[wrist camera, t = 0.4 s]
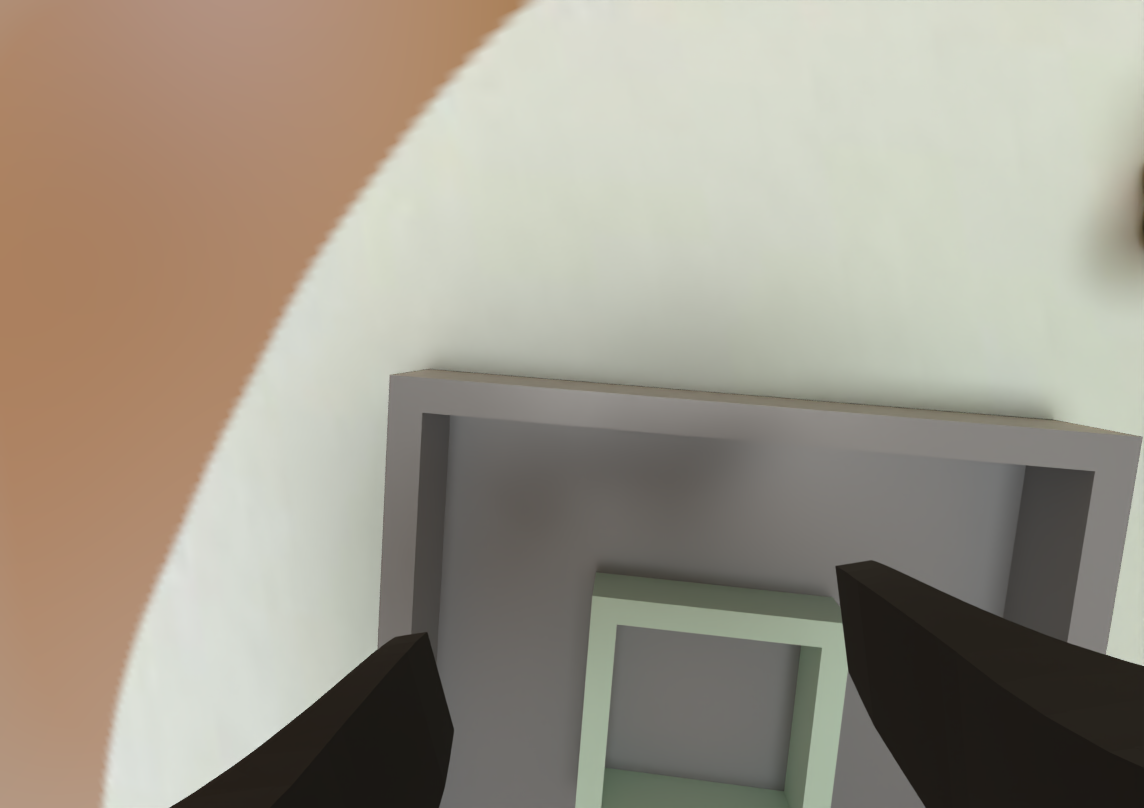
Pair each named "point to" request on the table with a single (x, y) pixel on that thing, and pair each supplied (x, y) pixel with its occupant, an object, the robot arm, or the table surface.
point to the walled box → (708, 559)
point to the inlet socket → (672, 804)
